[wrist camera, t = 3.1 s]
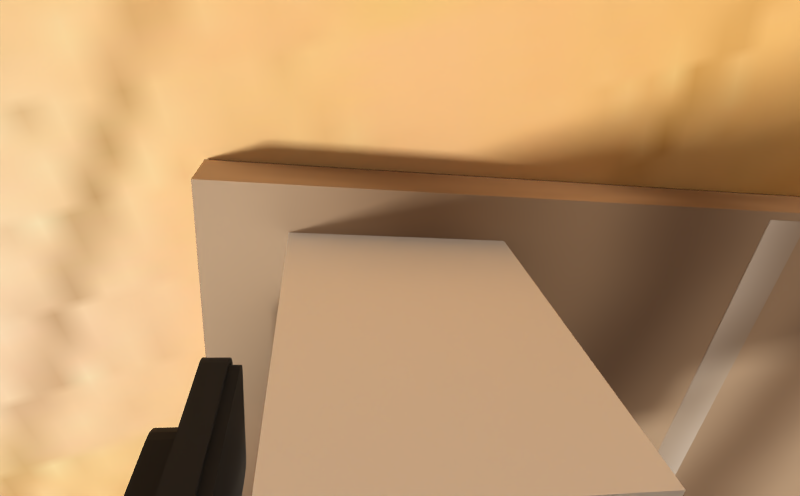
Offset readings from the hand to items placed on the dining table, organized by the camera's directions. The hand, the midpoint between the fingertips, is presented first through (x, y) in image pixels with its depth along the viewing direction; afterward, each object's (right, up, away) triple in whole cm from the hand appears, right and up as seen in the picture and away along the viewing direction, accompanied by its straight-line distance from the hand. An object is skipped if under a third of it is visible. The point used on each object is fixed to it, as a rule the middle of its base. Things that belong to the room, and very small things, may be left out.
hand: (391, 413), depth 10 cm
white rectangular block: (0, +1, +1) cm, 1 cm away
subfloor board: (+5, -3, +5) cm, 7 cm away
